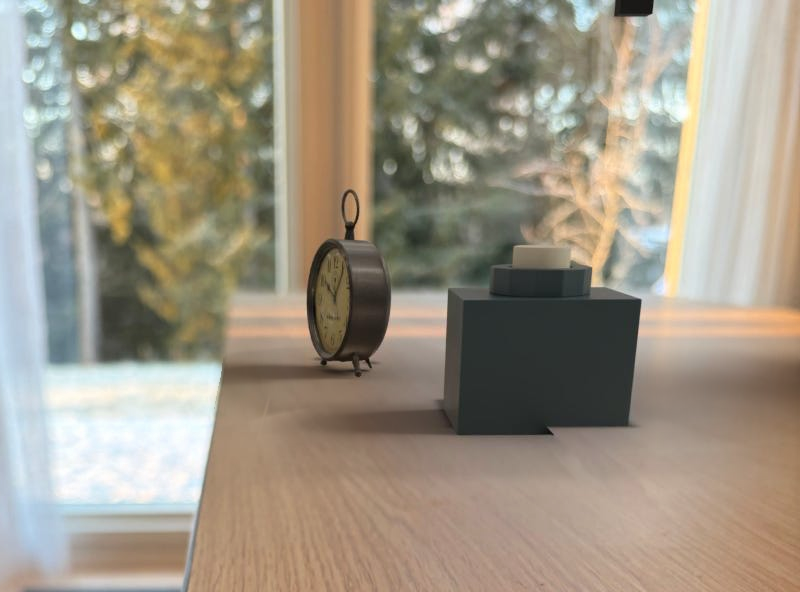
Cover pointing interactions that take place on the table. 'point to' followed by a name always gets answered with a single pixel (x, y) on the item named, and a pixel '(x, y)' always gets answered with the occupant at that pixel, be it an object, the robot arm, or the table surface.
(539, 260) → the lid button
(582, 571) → the table surface
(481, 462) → the table surface
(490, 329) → the block with cream knob
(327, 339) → the alarm clock
